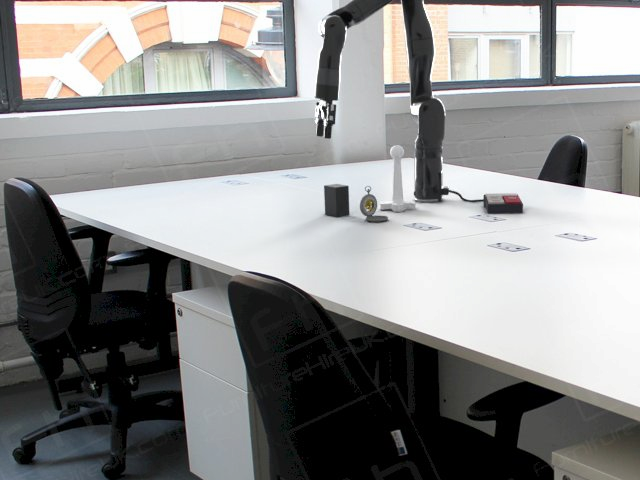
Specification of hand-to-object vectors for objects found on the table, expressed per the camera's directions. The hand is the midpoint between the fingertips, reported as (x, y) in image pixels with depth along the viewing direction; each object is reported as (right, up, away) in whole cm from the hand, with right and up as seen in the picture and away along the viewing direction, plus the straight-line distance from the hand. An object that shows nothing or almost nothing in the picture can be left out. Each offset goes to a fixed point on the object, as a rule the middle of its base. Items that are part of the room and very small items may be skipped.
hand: (323, 137), depth 330 cm
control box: (+56, -23, +2) cm, 61 cm away
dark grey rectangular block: (+5, -25, -3) cm, 25 cm away
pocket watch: (+16, -28, -13) cm, 35 cm away
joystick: (+23, -22, +4) cm, 33 cm away
